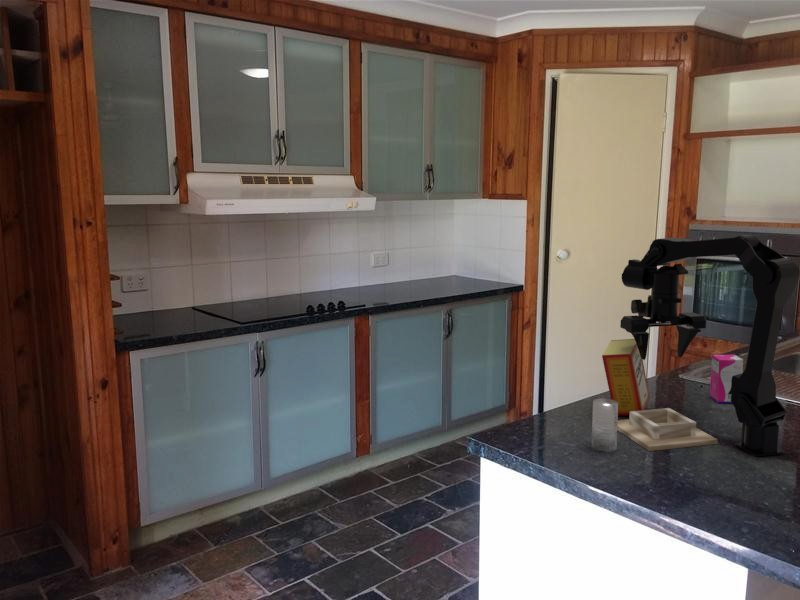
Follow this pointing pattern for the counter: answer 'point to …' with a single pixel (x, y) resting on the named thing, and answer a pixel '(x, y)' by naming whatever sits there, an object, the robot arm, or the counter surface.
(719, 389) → the supplement box
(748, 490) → the counter surface
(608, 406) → the aluminium peg
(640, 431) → the square peg hole base
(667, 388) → the counter surface
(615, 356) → the baking soda box
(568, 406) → the counter surface
